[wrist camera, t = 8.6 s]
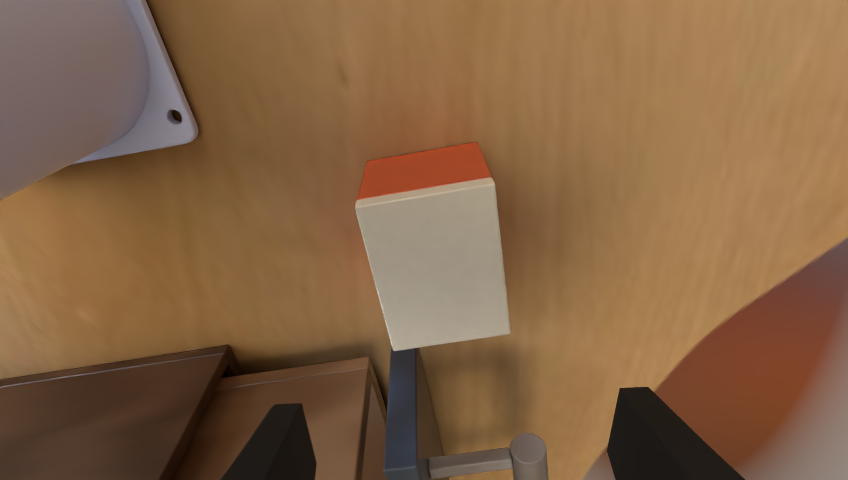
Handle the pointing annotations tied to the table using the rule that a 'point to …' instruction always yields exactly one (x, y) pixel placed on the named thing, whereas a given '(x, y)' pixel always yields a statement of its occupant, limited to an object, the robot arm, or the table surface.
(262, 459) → the robot arm
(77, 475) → the cabinet
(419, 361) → the drawer
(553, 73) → the table surface
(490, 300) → the carton
